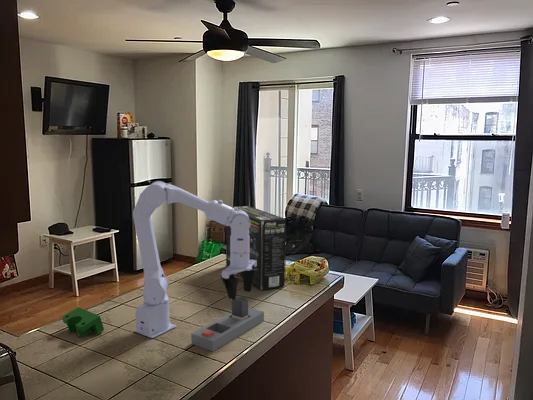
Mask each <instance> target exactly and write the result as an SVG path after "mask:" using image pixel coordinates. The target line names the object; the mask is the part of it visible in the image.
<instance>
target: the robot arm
mask: <svg viewBox="0 0 533 400" xmlns="http://www.w3.org/2000/svg"><path fill="white" fill-rule="evenodd" d="M165 202H166V203H167V205H169V204H175V203H180V204H183V205H186V206H188V207H190V208H194V209H196V210H199V211H201V212H203V213H204V214H205V216H206V218H207V219H209V220H211V221H214V222H215V223H218V224H221V225H223V226H230V227H231V236H230V266H228V267H227V266H226V268H225V269H223V270H221V275H220V280H221V281H222V283H223V285H224V287H225V289H226V293H227V297H228V299H230V300H232V299H233V300H235V299H236V297H237V291H238V290H237V289H238V284H239V281H240V278H239V277H236V274H237V273H239V272H242V276H243V277H242V282H243V290H244V292H247V293H251V292H252V289H253V286H254V285H253V281H254V279H255V276H256V274H257V273H258V269H257V268H254V267H256V266H257V260H249V251H250V237H249V228H250V225H251V223H250V220H249V216H248V215H247V213H246V212H244V211H243V210H240V209H239V210H238V208H236V206H230V205H227V204H225V203H223V202H224V201H223V200H221V199H218V200H216V199H213V200H210V201H208V200H206V199H204V198H201V197H200V196H198V195H196V194H193V193H191V192H190V191H187V190H184V189H183V188H181V187H179V186H176V185H174V184H170V183H168V184H167V183H166V182H164V181H161V180H156V181H153V182H152V183H151V184H150V185H148V186H147V187H146V188H145V189H143V190H142V191H141V193H140V194H139V196H138V200H137V201H136V204H135V205H134V206H135V207H134V209H133V211H132V217H133V218H132V219H133V223H134V227H135V232H136V238H137V243H138V248H139V252H140V254H139V255H140V258H141V263H142V264H141V265H142V268H143V285H144V287H143V291H142V298H143V302H142V304H141V305H139V306H138V307H137V308H136V310H135V327H136V328H135V329H134V332H136V333H138V334H140V335H142V336H146V337H148V338H151V339H153V338H155V337H158V336H160V335H162V334H164V333H167V332H168V331H171V330H172V329H174V328H176V327H177V325H176V324H173V323H171V321H170V297H169V295H168V294H167V290H168V288H169V285H170V283H169V279H168V278H167V277H166V275H165V272H164V270H163V268H162V266H161V261H160V254H159V251H158V250H159V249H158V244H157V239H156V235H155V229H154V224H153V218H152V214H154V212H155V211H156V209H158V208H160V206H162V205H164V203H165ZM232 207H234V208H232ZM237 275H238V274H237Z"/></svg>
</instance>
